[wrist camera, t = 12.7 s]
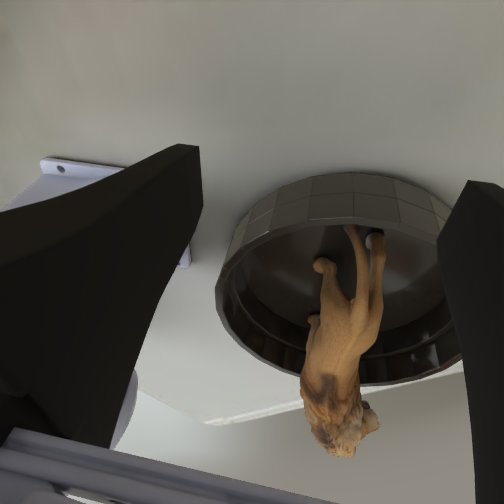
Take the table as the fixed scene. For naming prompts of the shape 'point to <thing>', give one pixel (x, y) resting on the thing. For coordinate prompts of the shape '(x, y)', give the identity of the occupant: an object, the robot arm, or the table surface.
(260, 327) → the dark grey round bowl
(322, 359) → the lion figurine
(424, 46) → the table surface
